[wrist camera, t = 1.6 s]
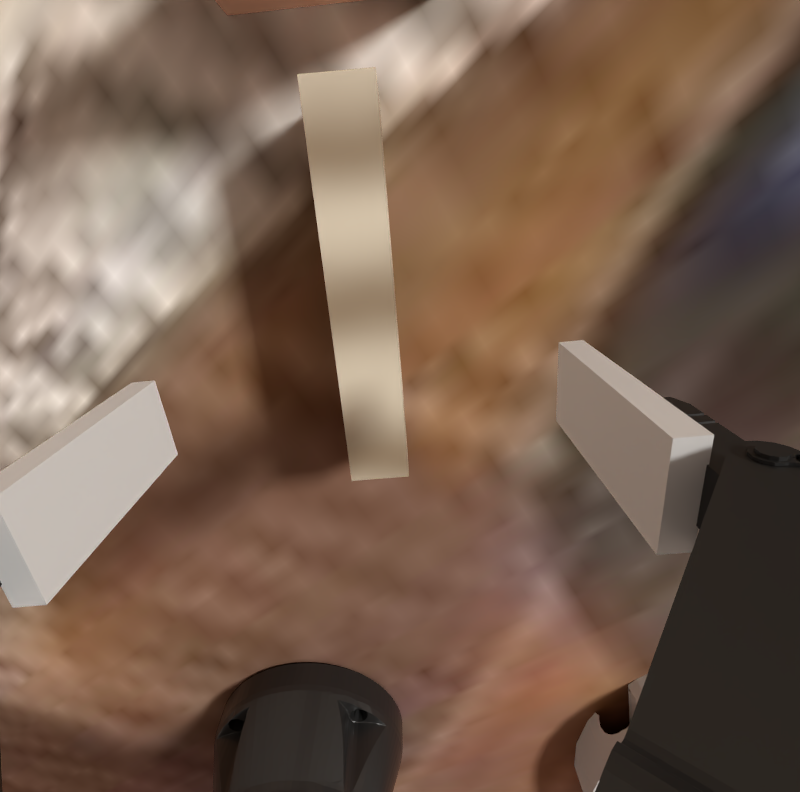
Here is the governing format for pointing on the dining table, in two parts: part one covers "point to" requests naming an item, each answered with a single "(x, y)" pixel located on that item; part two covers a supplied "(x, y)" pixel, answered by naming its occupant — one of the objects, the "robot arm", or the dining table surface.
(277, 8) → the tile
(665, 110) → the dining table surface
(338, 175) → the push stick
